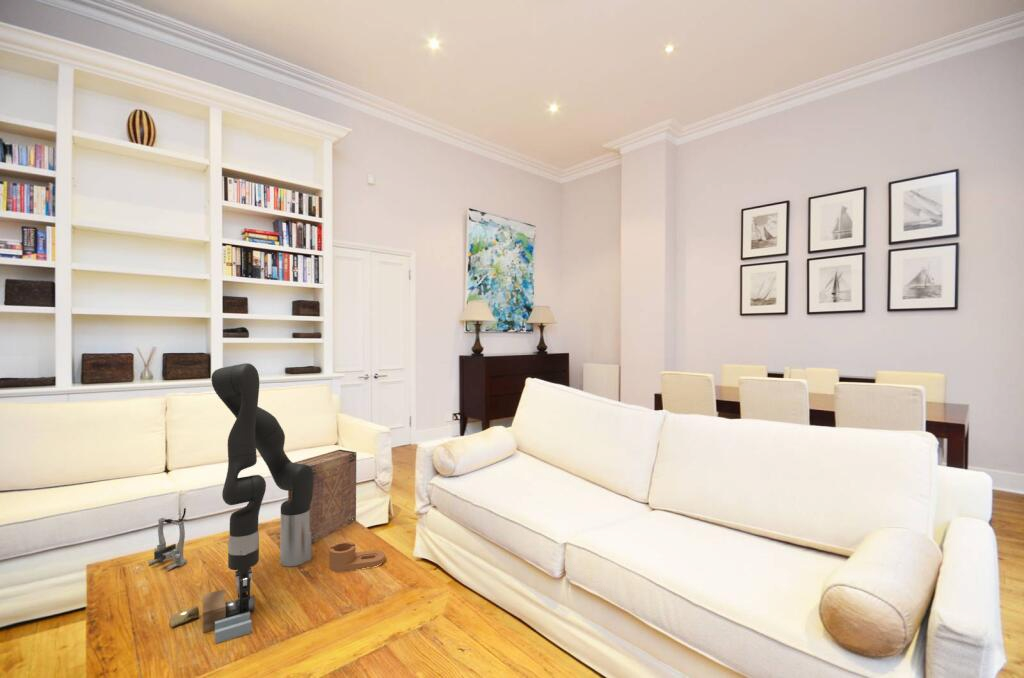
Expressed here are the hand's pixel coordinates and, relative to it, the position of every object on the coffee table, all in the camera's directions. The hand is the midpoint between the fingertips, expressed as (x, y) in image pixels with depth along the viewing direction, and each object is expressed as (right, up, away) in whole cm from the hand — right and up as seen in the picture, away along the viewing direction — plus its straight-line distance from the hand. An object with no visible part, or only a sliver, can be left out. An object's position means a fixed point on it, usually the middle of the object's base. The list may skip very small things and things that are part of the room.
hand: (243, 605), depth 130 cm
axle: (-2, -2, -2) cm, 3 cm away
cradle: (+3, -2, -9) cm, 10 cm away
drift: (-14, +1, -4) cm, 15 cm away
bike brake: (-40, -1, +25) cm, 47 cm away
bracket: (+23, -2, +27) cm, 36 cm away
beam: (-6, -2, -4) cm, 7 cm away
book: (+2, -2, +51) cm, 51 cm away
